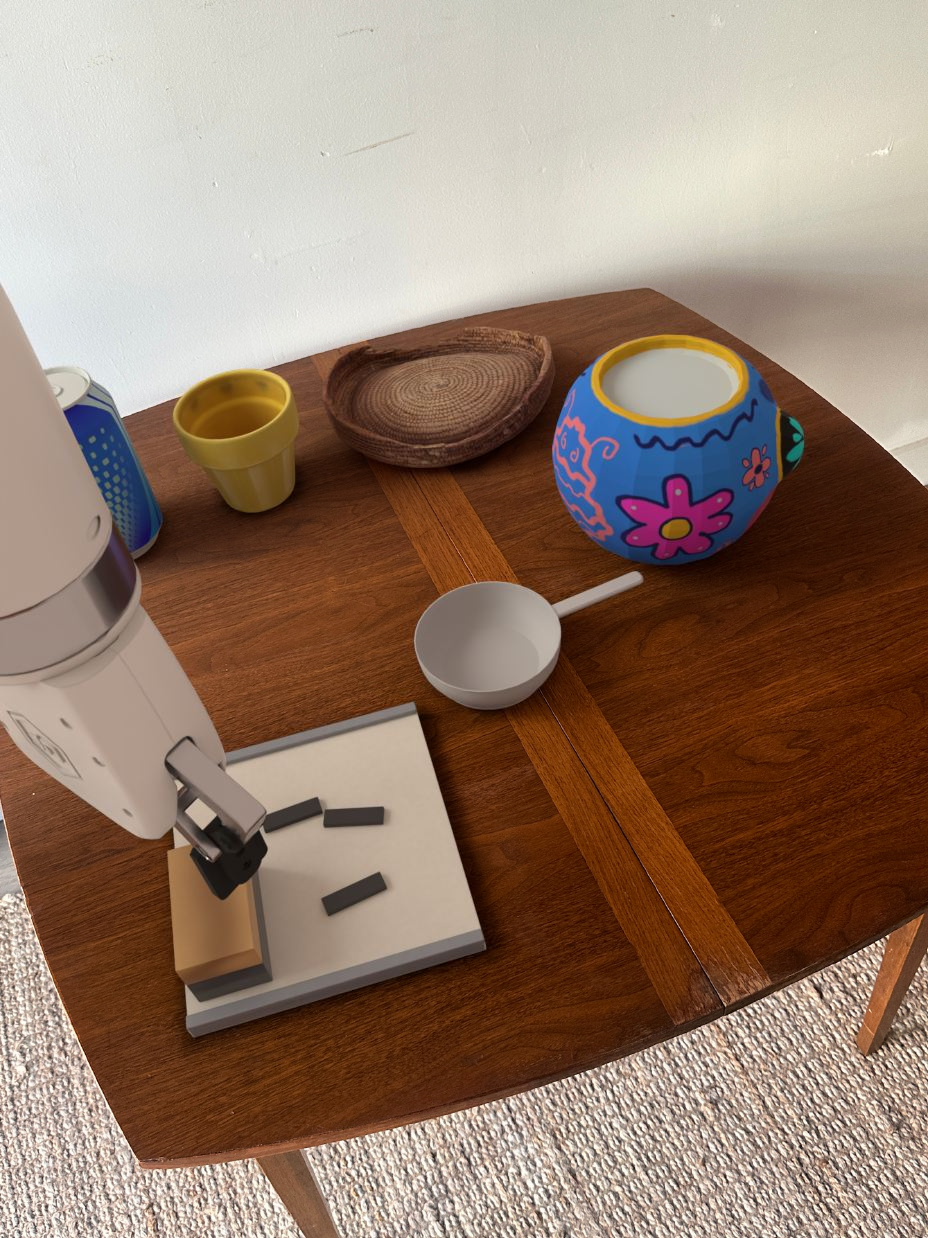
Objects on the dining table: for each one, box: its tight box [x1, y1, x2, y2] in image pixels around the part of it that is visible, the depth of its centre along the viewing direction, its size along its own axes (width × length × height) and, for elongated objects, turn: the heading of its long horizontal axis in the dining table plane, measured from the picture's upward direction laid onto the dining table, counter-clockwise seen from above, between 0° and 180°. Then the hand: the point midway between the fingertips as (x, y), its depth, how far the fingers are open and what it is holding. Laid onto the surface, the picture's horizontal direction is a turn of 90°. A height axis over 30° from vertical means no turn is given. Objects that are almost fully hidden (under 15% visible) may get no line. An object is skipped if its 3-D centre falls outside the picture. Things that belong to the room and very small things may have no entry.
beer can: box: [43, 365, 163, 561], centre depth 85 cm, size 8×8×16 cm
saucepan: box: [413, 570, 644, 711], centre depth 76 cm, size 11×18×4 cm, turn 112°
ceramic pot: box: [551, 334, 806, 566], centre depth 80 cm, size 18×18×15 cm
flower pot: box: [172, 368, 300, 514], centre depth 90 cm, size 10×10×10 cm
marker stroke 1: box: [263, 797, 323, 833], centre depth 68 cm, size 4×1×1 cm, turn 110°
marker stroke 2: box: [323, 806, 384, 828], centre depth 68 cm, size 4×1×1 cm, turn 90°
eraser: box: [166, 844, 273, 1002], centre depth 62 cm, size 4×8×4 cm, turn 15°
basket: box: [321, 326, 556, 469], centre depth 97 cm, size 22×20×5 cm
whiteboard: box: [171, 701, 487, 1038], centre depth 67 cm, size 18×19×1 cm
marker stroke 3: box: [321, 871, 387, 916], centre depth 64 cm, size 4×1×1 cm, turn 115°
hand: (172, 825), depth 50 cm, fingers open, 9 cm apart
